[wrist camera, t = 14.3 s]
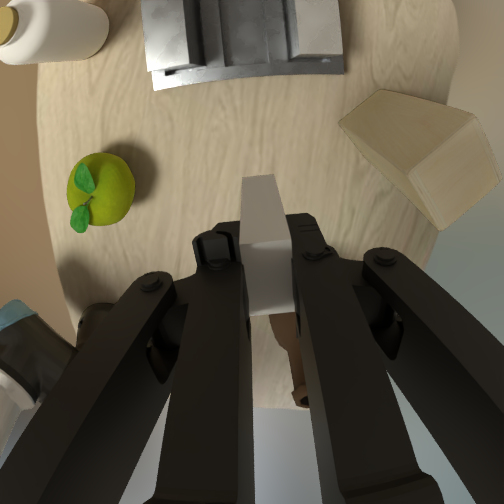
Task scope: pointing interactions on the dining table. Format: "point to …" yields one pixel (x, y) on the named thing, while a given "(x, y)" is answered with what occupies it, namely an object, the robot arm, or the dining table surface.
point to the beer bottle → (291, 353)
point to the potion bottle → (50, 31)
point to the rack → (221, 42)
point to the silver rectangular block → (313, 29)
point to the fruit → (99, 191)
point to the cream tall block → (425, 152)
